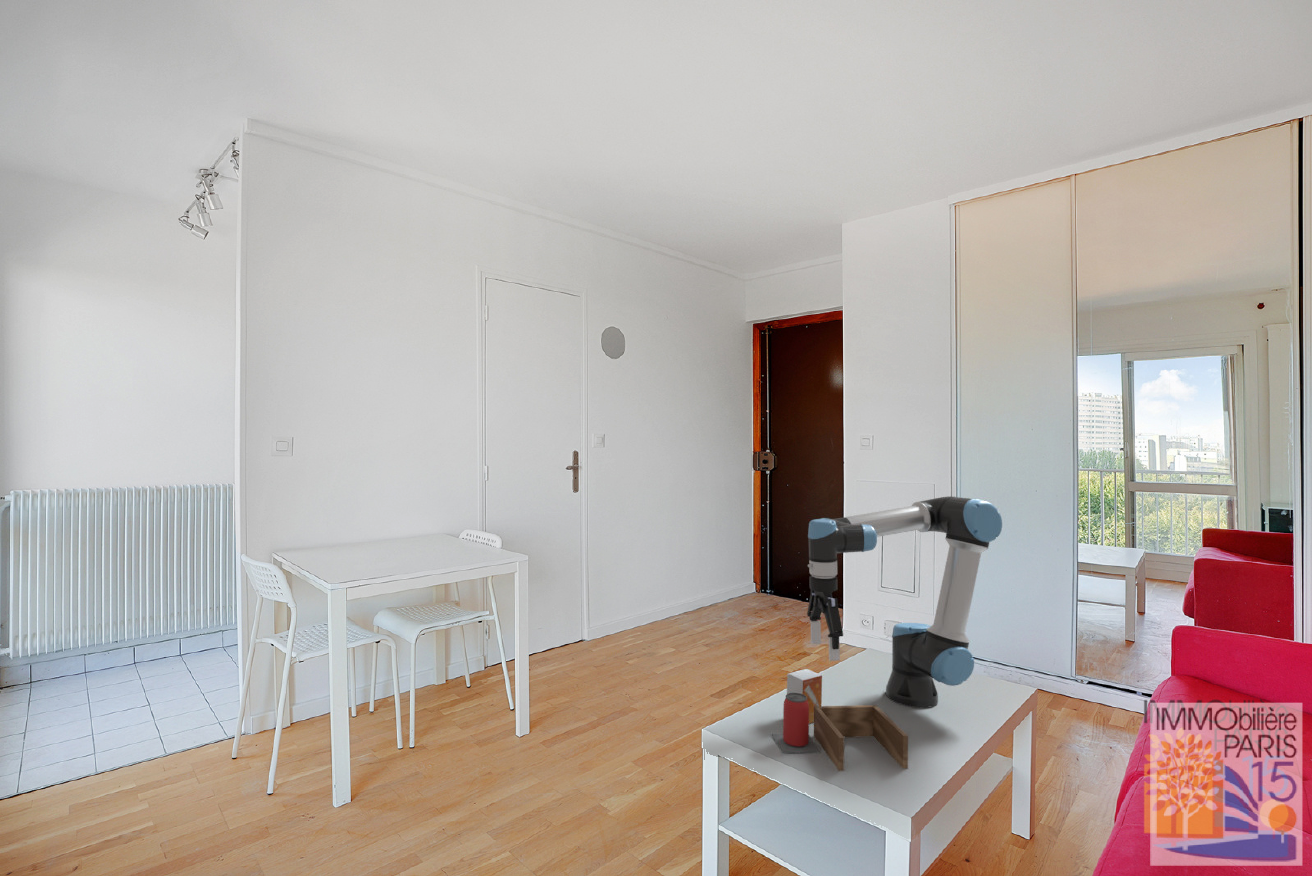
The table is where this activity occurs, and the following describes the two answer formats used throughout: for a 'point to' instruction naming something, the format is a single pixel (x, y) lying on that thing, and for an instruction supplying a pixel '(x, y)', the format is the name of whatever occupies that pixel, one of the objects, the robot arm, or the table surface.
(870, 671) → the table surface
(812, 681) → the small box
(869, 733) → the open wooden enclosure
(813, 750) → the place mat
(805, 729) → the beer can
